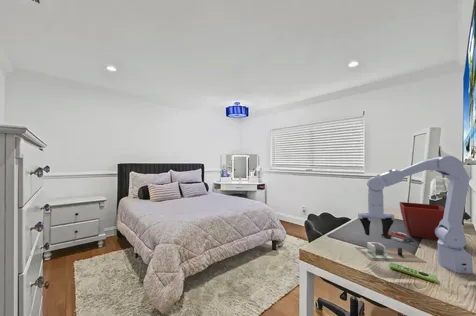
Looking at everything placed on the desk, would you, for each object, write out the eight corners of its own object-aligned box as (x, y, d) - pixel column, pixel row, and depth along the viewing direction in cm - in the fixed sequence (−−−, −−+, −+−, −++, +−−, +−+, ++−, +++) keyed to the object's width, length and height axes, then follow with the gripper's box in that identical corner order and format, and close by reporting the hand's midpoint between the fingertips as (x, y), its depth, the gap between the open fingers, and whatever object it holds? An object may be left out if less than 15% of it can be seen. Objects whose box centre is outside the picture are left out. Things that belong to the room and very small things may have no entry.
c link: (385, 256, 92) (385, 246, 92) (373, 255, 92) (373, 246, 92) (378, 251, 97) (378, 242, 97) (367, 251, 97) (367, 242, 97)
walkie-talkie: (378, 237, 120) (419, 251, 101) (378, 229, 120) (419, 241, 101) (389, 235, 123) (430, 248, 104) (388, 227, 123) (430, 239, 104)
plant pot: (439, 233, 126) (439, 204, 126) (451, 243, 109) (450, 210, 110) (399, 228, 135) (399, 201, 136) (404, 237, 119) (404, 206, 119)
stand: (427, 265, 86) (427, 255, 86) (371, 263, 88) (371, 253, 88) (403, 250, 100) (402, 242, 100) (354, 249, 102) (354, 241, 102)
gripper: (387, 202, 98) (387, 232, 98) (354, 202, 99) (354, 231, 99) (397, 205, 91) (397, 237, 91) (362, 205, 92) (362, 236, 92)
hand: (376, 235), depth 94 cm, fingers open, 7 cm apart
